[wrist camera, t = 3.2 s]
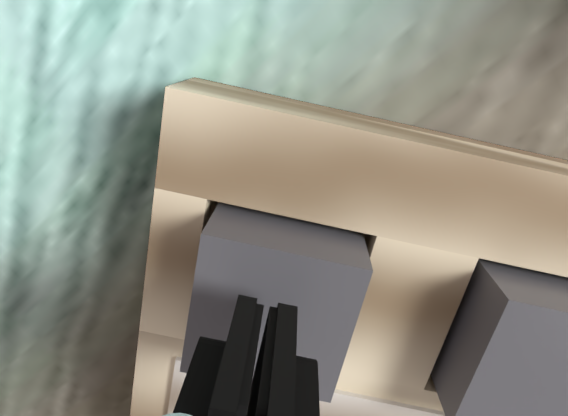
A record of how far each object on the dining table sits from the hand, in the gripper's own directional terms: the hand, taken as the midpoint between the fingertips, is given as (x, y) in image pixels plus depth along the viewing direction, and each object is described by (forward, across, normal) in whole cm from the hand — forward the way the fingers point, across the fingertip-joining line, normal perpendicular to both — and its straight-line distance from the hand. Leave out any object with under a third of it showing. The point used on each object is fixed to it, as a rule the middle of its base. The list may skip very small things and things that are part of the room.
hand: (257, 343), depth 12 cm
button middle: (+4, -9, 0) cm, 10 cm away
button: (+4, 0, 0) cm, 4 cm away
